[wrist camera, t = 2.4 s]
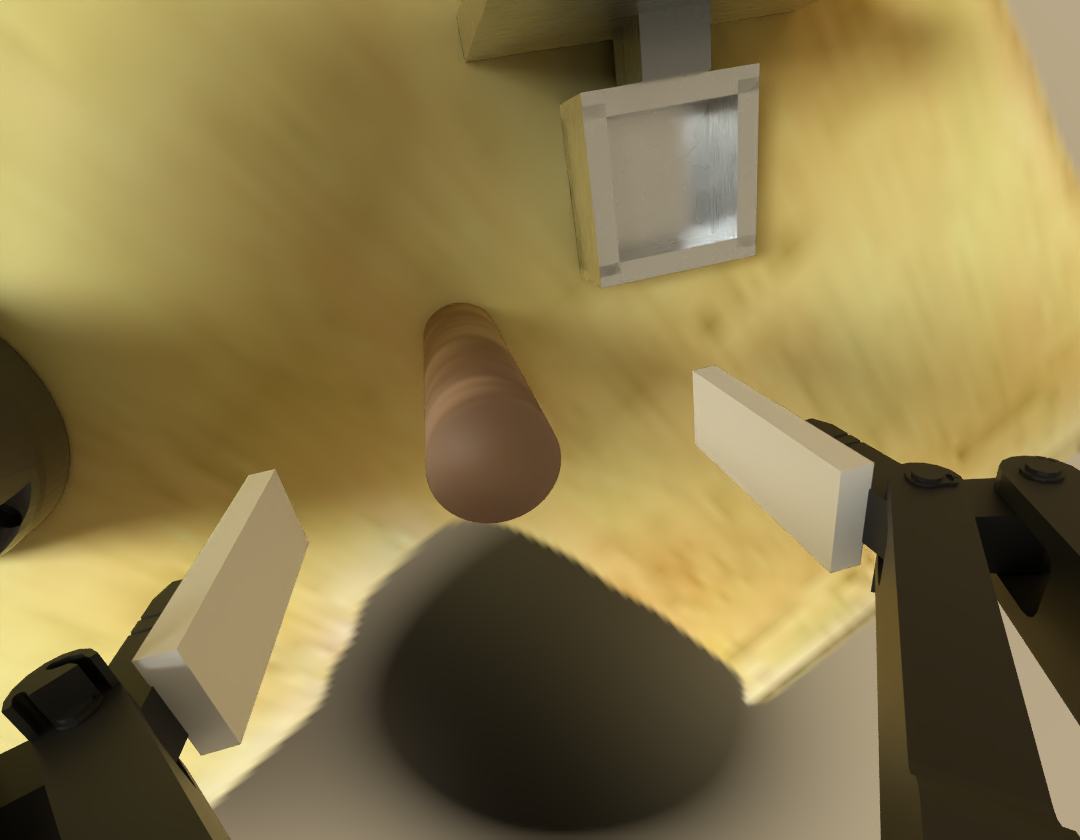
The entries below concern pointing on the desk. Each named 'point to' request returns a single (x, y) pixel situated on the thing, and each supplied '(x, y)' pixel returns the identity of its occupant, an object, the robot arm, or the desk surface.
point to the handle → (482, 422)
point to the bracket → (646, 128)
